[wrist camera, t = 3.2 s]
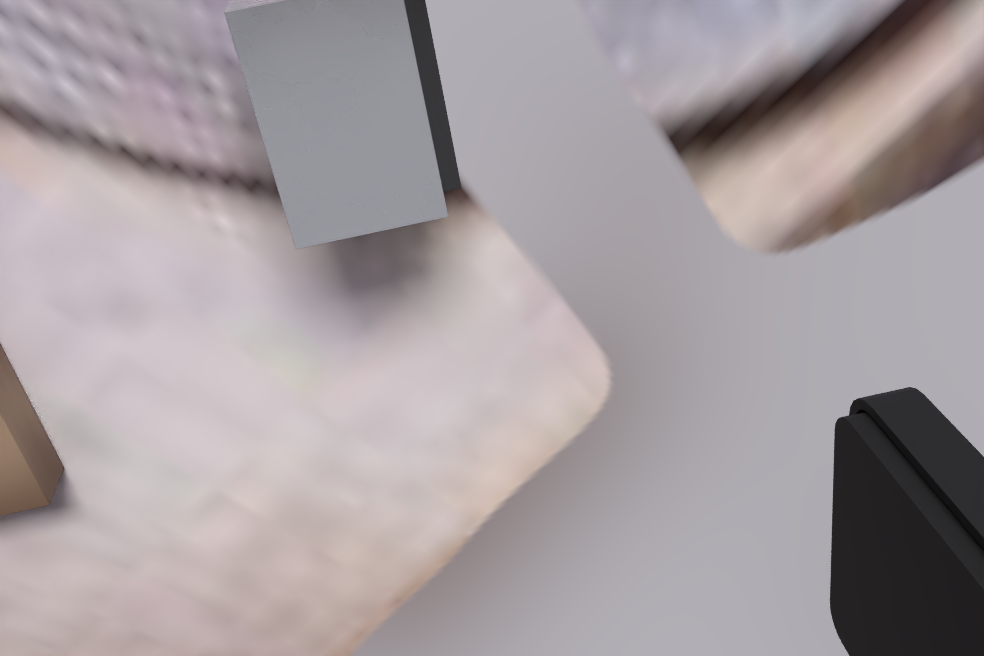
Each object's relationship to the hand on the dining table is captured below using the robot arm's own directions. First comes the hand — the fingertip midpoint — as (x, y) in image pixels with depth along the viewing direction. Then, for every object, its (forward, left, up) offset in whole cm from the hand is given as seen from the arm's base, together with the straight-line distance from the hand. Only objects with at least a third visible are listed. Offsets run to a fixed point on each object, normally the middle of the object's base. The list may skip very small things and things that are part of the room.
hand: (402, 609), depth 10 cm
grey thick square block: (0, 0, -22) cm, 22 cm away
